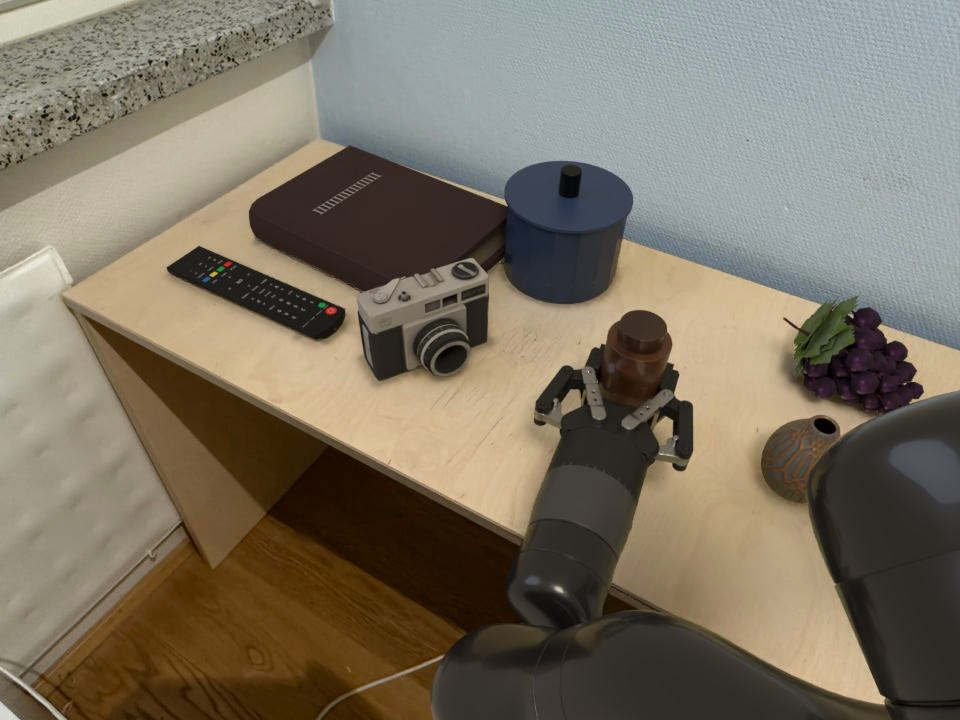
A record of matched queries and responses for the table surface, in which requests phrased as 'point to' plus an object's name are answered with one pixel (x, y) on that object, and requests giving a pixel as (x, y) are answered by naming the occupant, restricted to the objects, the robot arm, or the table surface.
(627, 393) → the pepper mill
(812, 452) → the vase
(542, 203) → the pot lid
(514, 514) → the table surface
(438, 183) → the brown slab
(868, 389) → the fruit
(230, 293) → the remote control
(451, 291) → the camera
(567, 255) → the pot
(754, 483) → the table surface
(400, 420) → the table surface
